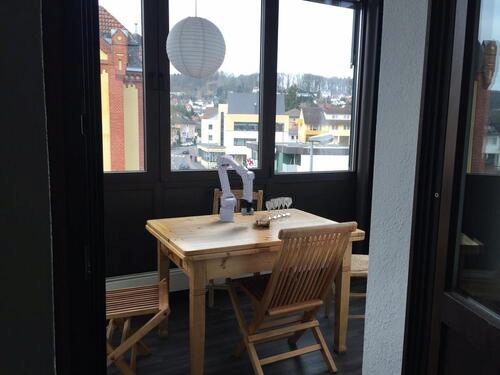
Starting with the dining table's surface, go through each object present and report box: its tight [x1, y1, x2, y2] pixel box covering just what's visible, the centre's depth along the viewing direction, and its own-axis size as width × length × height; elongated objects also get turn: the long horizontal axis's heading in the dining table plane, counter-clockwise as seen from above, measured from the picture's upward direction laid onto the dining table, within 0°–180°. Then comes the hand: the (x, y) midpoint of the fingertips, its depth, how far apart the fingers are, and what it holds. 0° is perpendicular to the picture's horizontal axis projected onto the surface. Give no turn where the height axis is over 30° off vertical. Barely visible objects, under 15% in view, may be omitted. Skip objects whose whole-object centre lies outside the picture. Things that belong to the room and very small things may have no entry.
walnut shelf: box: [255, 214, 271, 229], centre depth 269 cm, size 8×17×5 cm, turn 179°
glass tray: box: [240, 207, 255, 217], centre depth 267 cm, size 7×5×4 cm
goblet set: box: [265, 196, 293, 220], centre depth 301 cm, size 28×6×13 cm, turn 140°
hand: (247, 211), depth 267 cm, fingers closed on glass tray, 5 cm apart
